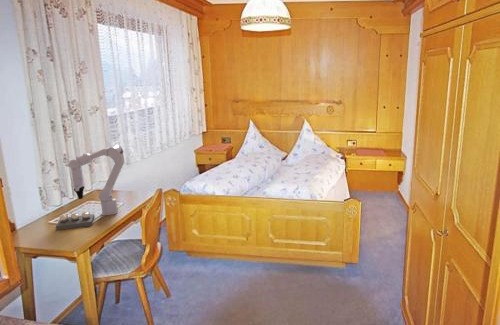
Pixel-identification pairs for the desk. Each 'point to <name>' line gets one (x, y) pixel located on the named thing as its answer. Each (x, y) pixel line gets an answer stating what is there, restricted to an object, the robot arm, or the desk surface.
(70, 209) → the desk surface
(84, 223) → the knob panel
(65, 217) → the knob
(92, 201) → the desk surface
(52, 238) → the desk surface
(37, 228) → the desk surface
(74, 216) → the knob mid
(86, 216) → the knob
